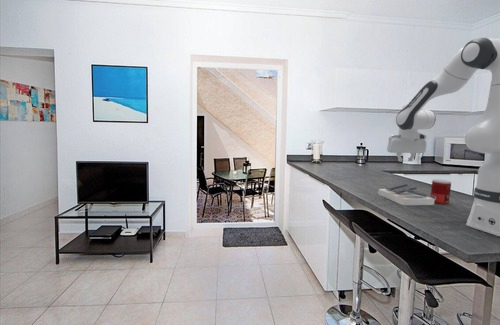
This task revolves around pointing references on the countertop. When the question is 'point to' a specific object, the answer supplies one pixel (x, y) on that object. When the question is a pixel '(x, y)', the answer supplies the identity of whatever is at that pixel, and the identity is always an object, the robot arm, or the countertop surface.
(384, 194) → the switch unit
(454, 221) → the countertop surface
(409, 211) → the countertop surface
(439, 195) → the canned food
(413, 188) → the middle rocker
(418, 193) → the near rocker
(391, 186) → the far rocker
